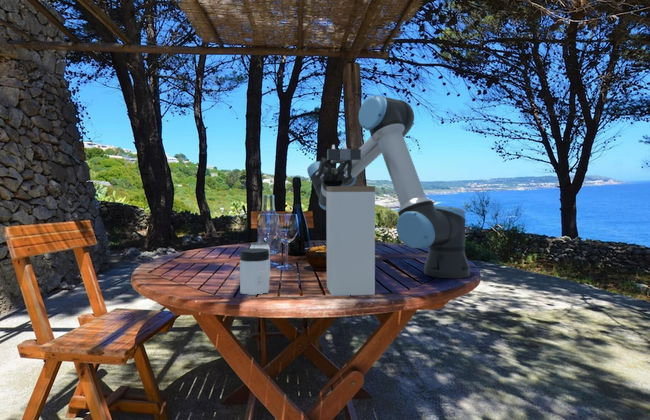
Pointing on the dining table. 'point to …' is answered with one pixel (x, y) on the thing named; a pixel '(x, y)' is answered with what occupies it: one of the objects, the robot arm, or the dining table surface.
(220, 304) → the dining table surface
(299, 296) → the dining table surface
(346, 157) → the t handle
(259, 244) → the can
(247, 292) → the jar
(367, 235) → the stand
